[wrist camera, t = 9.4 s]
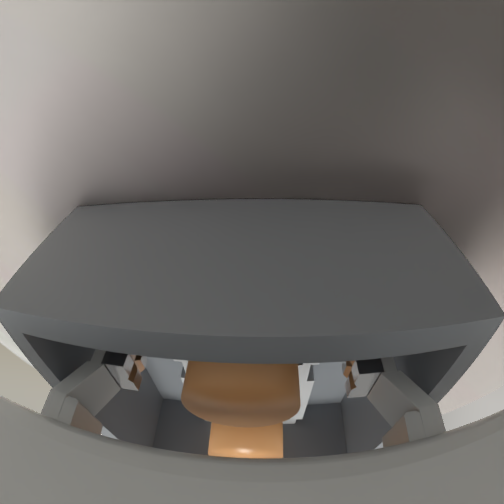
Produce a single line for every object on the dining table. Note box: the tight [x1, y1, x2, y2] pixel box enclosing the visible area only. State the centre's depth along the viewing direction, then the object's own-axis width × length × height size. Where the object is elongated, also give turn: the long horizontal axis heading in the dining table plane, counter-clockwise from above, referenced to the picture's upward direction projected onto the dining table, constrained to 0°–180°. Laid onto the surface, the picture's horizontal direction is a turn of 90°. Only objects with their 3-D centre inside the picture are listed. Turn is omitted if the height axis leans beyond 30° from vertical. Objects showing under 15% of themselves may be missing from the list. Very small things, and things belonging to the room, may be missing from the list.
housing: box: [0, 199, 504, 458], centre depth 13 cm, size 16×15×6 cm
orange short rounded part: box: [208, 422, 283, 458], centre depth 15 cm, size 4×4×5 cm
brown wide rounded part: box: [181, 361, 301, 428], centre depth 11 cm, size 4×4×5 cm
